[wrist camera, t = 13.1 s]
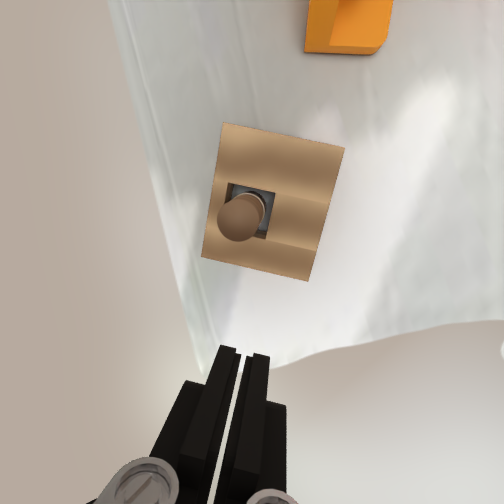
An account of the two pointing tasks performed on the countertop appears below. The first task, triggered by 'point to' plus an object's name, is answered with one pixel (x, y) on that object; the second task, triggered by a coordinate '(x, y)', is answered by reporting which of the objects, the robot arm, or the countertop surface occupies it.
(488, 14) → the countertop surface
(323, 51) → the bracket
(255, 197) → the peg
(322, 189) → the board
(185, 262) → the countertop surface
